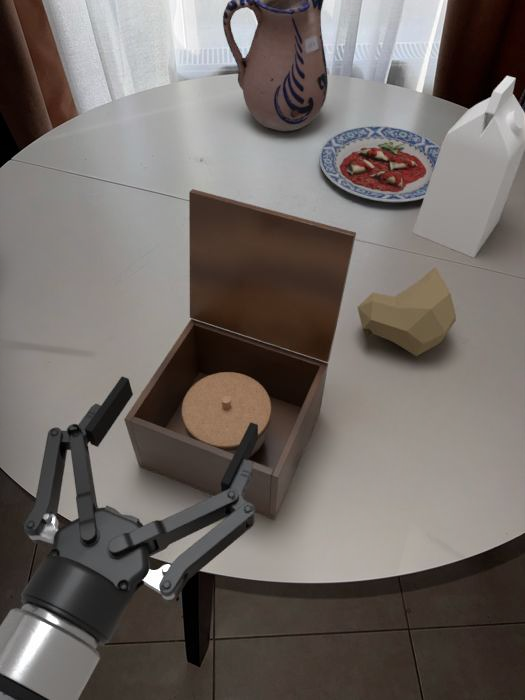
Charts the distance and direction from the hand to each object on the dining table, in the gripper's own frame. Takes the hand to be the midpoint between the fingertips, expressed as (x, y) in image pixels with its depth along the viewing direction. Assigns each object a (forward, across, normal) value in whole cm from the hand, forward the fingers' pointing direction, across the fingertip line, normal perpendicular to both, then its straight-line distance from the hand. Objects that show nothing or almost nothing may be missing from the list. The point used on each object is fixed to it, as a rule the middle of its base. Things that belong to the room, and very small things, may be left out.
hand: (189, 407), depth 56 cm
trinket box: (+8, 0, -19) cm, 20 cm away
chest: (+9, 0, -19) cm, 21 cm away
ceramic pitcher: (+85, -24, -19) cm, 90 cm away
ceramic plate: (+76, +3, -19) cm, 79 cm away
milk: (+64, +19, -19) cm, 70 cm away
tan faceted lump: (+35, +16, -20) cm, 43 cm away
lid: (+18, 0, +1) cm, 18 cm away
